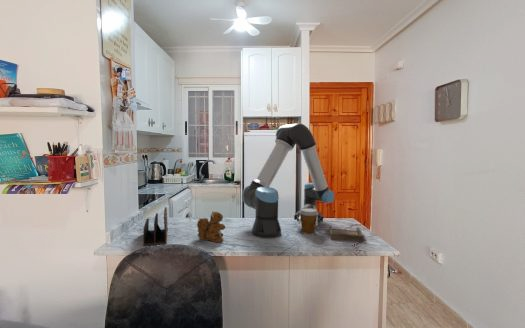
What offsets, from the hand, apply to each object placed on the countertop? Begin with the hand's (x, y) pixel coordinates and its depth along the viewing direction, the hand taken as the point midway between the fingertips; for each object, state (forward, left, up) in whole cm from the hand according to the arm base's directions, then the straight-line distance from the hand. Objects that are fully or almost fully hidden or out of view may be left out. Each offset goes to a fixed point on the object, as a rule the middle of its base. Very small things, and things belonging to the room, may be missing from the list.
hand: (308, 222), depth 136 cm
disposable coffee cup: (+2, +4, -7) cm, 8 cm away
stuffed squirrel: (-48, +8, -7) cm, 49 cm away
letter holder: (-73, +17, -7) cm, 76 cm away
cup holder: (+18, -6, -7) cm, 20 cm away
